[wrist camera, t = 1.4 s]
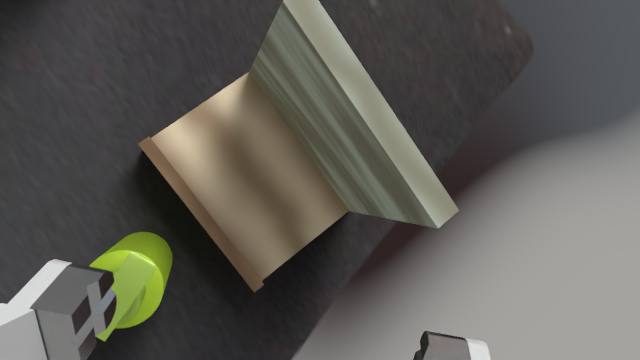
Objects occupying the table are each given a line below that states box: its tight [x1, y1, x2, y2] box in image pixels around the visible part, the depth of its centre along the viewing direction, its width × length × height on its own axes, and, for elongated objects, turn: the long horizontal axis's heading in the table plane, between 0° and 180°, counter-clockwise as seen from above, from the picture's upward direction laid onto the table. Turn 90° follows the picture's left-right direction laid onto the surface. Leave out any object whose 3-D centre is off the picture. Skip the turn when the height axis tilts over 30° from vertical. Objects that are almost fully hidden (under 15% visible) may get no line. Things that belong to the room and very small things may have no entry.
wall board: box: [138, 0, 459, 293], centre depth 39 cm, size 15×18×22 cm
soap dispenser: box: [90, 232, 173, 342], centre depth 37 cm, size 6×7×20 cm
